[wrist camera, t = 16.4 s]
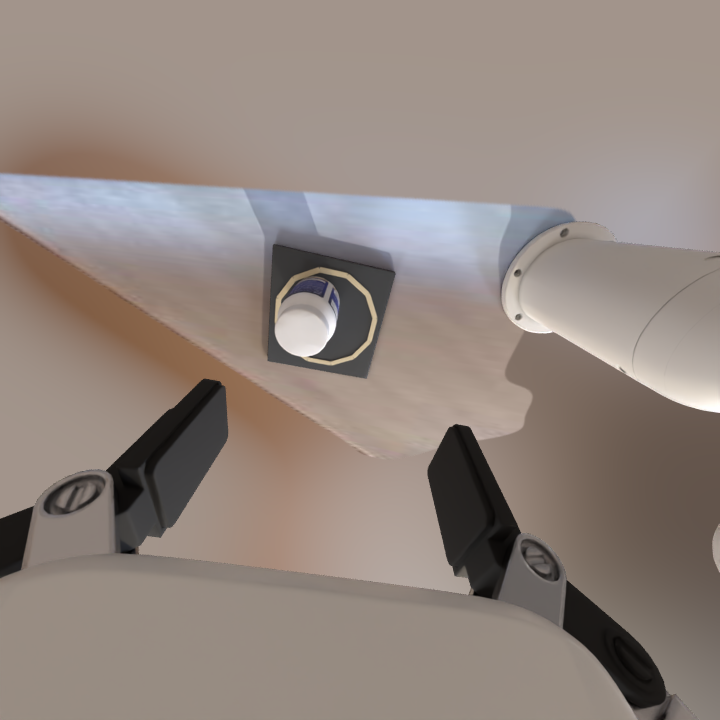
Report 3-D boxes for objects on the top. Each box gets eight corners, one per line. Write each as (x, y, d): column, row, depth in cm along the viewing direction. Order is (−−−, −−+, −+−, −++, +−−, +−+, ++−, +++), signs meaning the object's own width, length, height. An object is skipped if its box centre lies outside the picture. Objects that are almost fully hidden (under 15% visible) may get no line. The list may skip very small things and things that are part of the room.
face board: (395, 271, 30) (395, 272, 29) (366, 376, 37) (366, 379, 37) (274, 244, 29) (272, 244, 28) (268, 359, 36) (267, 361, 35)
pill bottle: (283, 303, 31) (255, 338, 23) (309, 264, 29) (290, 287, 20) (322, 330, 33) (310, 372, 24) (349, 296, 31) (347, 329, 22)
